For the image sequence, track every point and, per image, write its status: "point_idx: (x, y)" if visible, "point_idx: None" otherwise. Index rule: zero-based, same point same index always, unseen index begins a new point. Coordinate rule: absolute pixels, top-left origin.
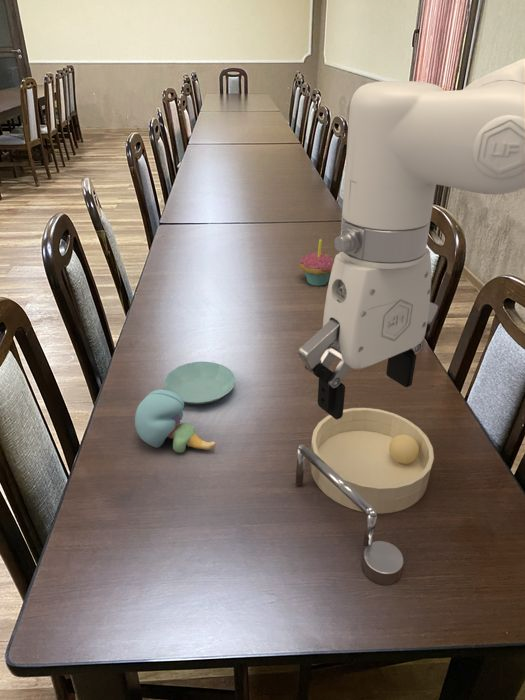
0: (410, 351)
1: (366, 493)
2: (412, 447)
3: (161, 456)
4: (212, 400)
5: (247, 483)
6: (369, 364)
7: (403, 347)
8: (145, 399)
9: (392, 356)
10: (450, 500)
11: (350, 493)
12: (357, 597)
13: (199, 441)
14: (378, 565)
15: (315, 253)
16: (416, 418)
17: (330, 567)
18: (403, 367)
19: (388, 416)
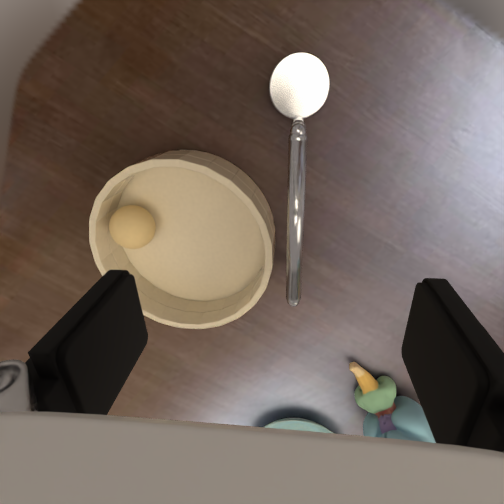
0: (39, 380)
1: (246, 189)
2: (123, 217)
3: (406, 383)
4: (305, 421)
5: (349, 299)
6: (483, 465)
7: (109, 460)
8: None
9: (230, 429)
10: (124, 124)
11: (302, 184)
12: (364, 66)
13: (364, 379)
14: (317, 78)
15: None
16: (71, 265)
17: (357, 130)
18: (104, 332)
19: None
